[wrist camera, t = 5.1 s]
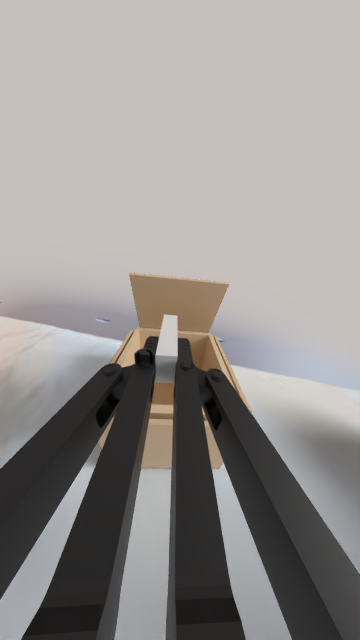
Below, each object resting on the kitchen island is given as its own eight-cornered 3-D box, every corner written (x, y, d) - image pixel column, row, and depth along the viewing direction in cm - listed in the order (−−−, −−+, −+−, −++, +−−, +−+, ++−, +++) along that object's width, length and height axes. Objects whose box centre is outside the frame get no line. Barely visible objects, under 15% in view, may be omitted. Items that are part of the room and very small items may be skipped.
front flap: (208, 330, 29) (228, 282, 20) (208, 332, 28) (228, 284, 19) (140, 325, 28) (130, 272, 19) (139, 327, 27) (129, 274, 19)
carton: (204, 375, 34) (215, 333, 28) (226, 473, 19) (260, 427, 13) (135, 371, 33) (131, 327, 27) (98, 471, 18) (72, 420, 12)
